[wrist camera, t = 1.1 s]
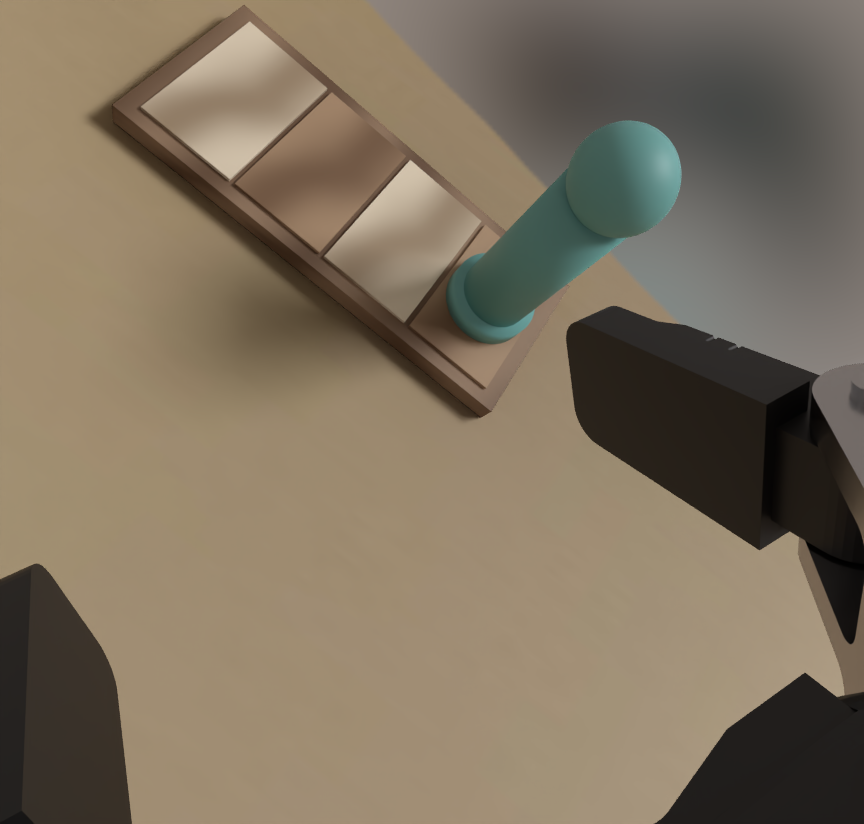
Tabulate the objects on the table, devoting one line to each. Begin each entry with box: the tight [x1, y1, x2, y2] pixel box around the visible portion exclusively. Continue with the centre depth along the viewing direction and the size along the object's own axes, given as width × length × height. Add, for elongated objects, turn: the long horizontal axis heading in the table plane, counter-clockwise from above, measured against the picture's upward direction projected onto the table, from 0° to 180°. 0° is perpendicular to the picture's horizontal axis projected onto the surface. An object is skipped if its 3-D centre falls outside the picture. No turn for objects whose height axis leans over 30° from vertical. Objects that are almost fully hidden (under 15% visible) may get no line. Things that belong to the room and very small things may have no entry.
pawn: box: [446, 121, 681, 344], centre depth 31 cm, size 5×5×14 cm
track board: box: [112, 5, 569, 417], centre depth 37 cm, size 24×10×1 cm, turn 57°
